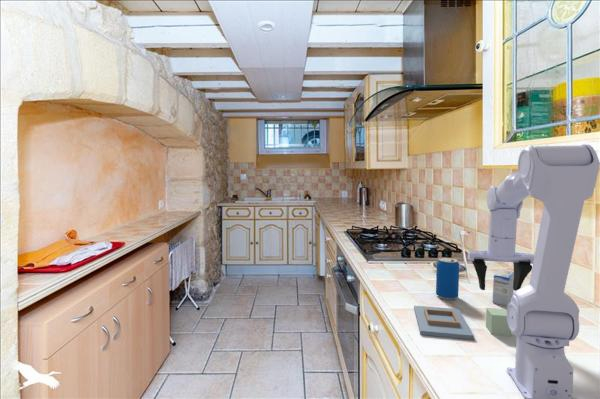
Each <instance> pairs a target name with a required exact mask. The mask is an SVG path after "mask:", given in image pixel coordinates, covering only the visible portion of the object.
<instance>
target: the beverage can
mask: <svg viewBox="0 0 600 399" xmlns="http://www.w3.org/2000/svg"><path fill="white" fill-rule="evenodd" d="M435 277H436V279H435V281H436V282H435V295H436V296H438V298H439V299H441V300H442V299H443V300H445V301H447V300H448V301H451V300H452V301H453V300H455V299H457V298H459V285H460V283H459V282H460V280H459V279H460V263H459V260H458V258H453V257H445V256H443V257H438V259H437V261H436V276H435Z"/></svg>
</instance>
